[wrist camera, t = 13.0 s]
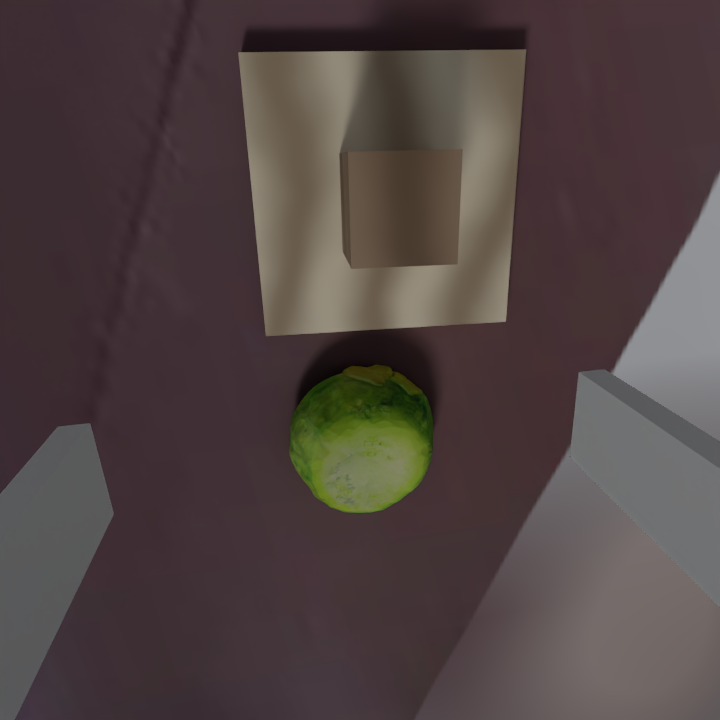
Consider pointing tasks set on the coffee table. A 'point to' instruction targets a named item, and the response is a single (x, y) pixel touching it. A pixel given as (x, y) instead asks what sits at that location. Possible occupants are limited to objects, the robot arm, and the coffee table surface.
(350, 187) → the walnut cube
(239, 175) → the coffee table surface
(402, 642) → the coffee table surface
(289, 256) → the oak board
